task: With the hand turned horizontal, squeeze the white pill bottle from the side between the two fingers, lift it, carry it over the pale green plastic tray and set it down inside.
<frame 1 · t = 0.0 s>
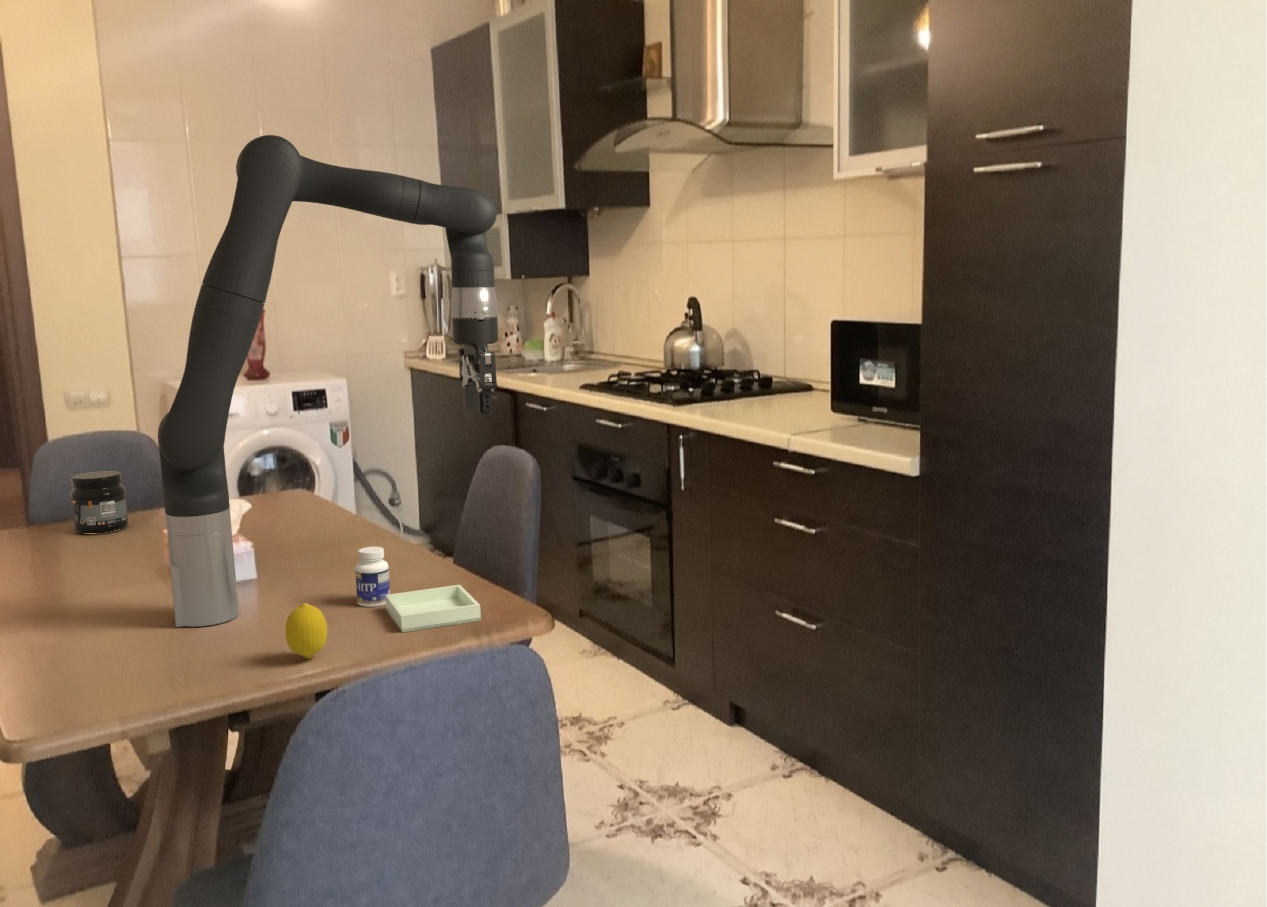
hand: (478, 411, 179), 29 cm above the table, tool pointing down, fingers open, 8 cm apart
pill bottle: (374, 603, 172), on the table
supplement container: (102, 530, 227), on the table
tray: (432, 615, 165), on the table
lemon: (308, 660, 147), on the table
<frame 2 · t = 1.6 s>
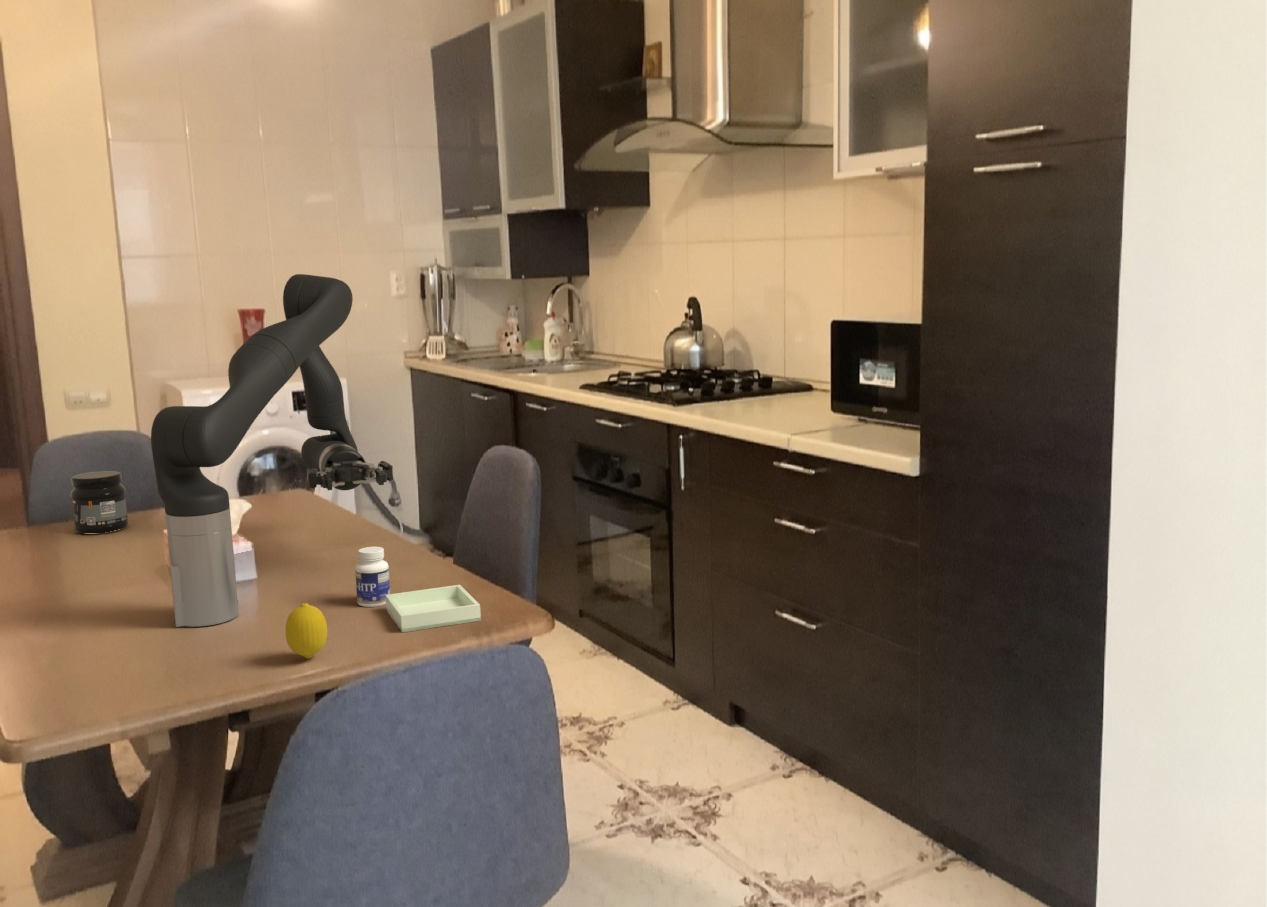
hand: (356, 481, 179), 18 cm above the table, tool horizontal, fingers open, 8 cm apart
nothing on the table moved.
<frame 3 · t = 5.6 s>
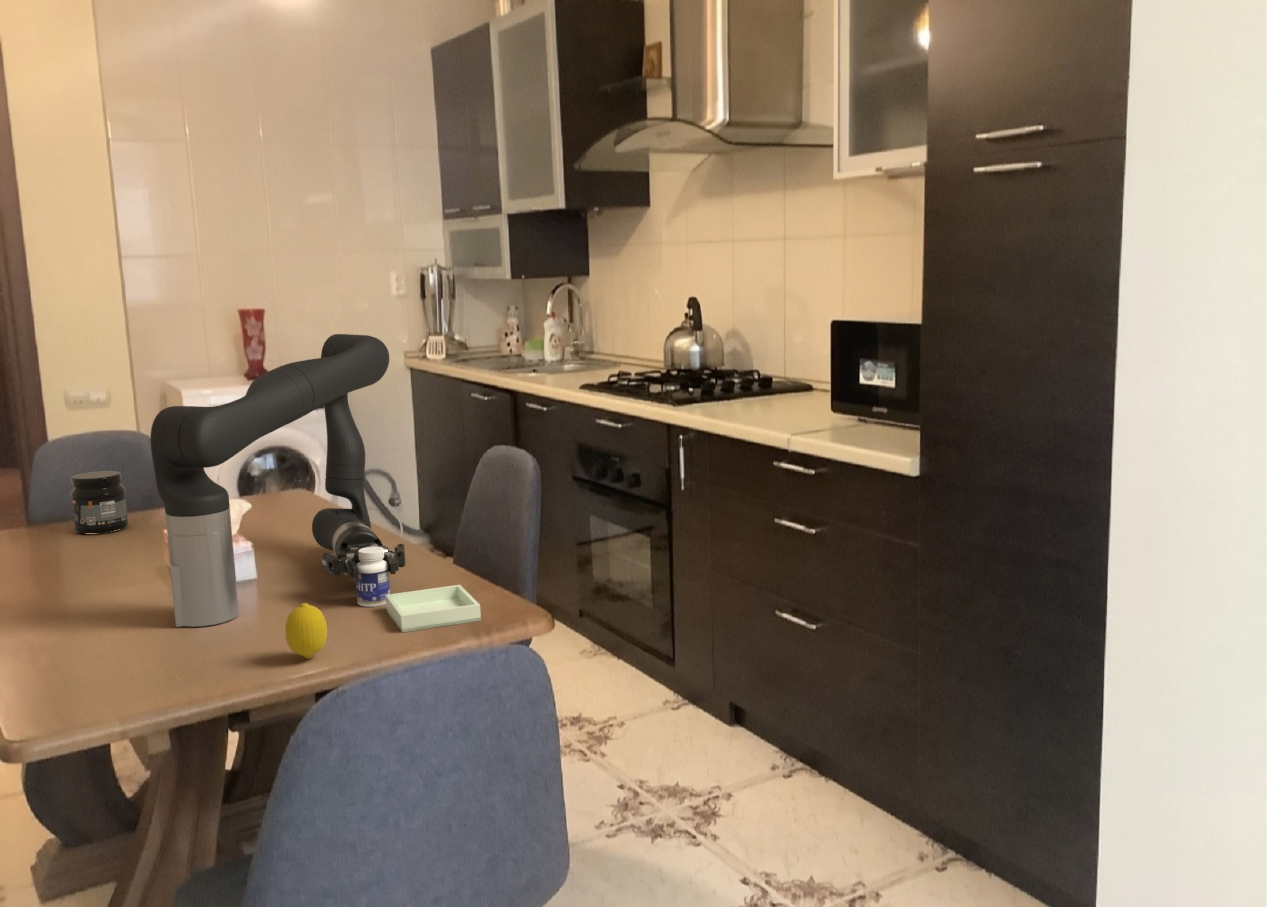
hand: (374, 570, 169), 6 cm above the table, tool horizontal, fingers closed on pill bottle, 5 cm apart
pill bottle: (374, 603, 172), on the table, touching gripper
everything else where it was.
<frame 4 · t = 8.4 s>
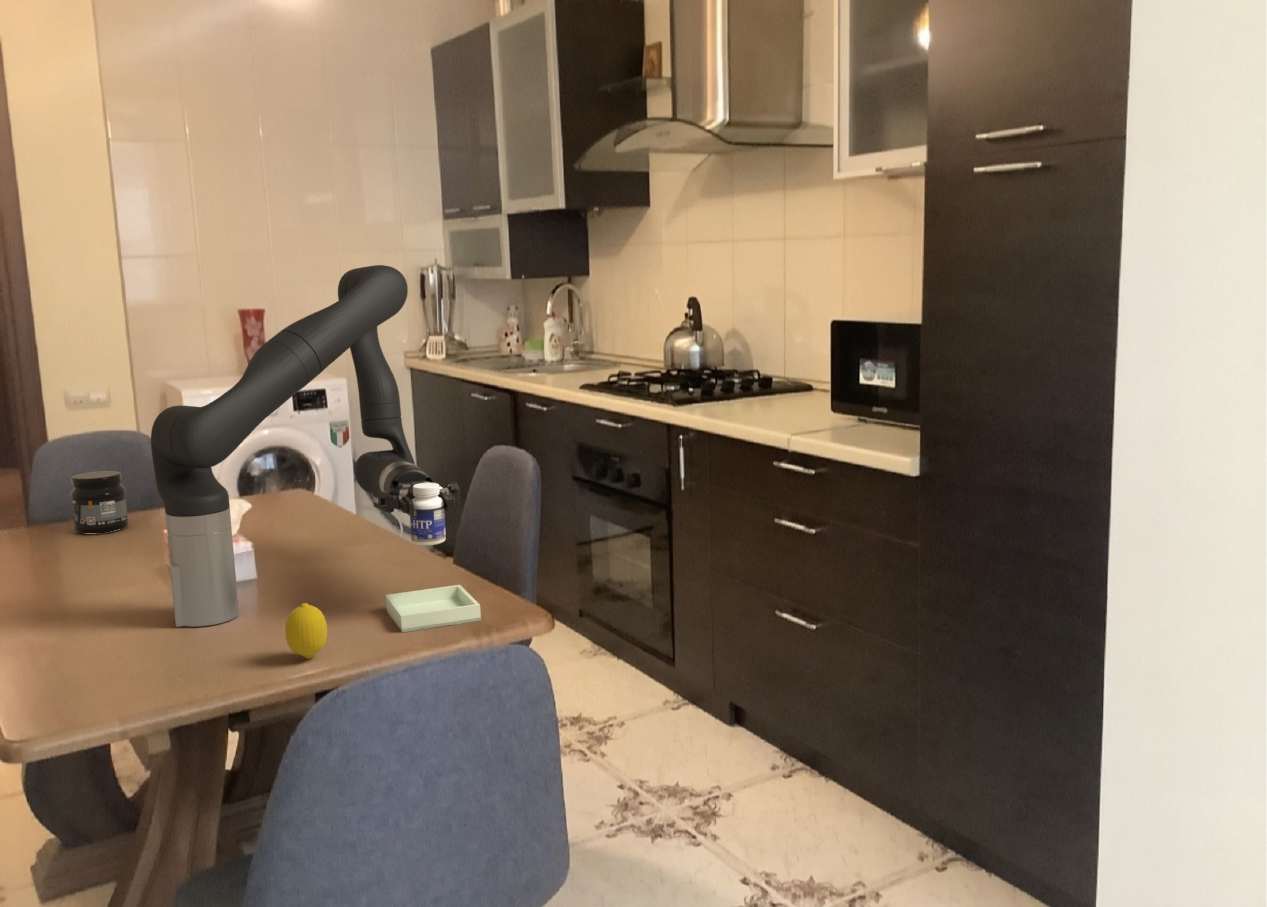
hand: (431, 506, 160), 18 cm above the table, tool horizontal, fingers closed on pill bottle, 5 cm apart
pill bottle: (428, 542, 164), point 11 cm above the table, touching gripper
everything else where it was.
when the fingers open (8 cm above the table, at t = 10.8 s): pill bottle drops 1 cm, resting on tray.
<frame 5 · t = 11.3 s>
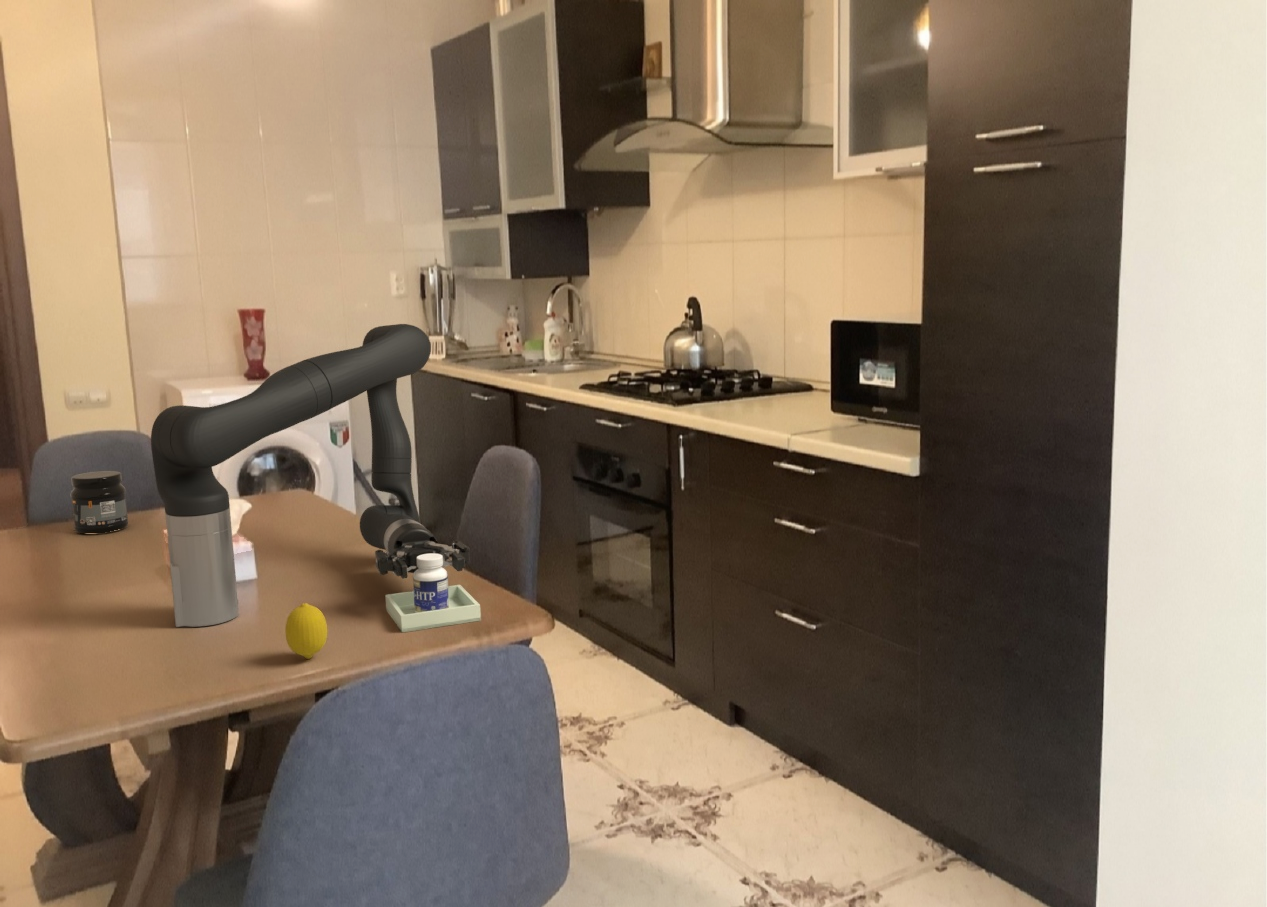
hand: (432, 568, 162), 8 cm above the table, tool horizontal, fingers open, 8 cm apart
pill bottle: (432, 613, 165), resting on tray
everything else where it was.
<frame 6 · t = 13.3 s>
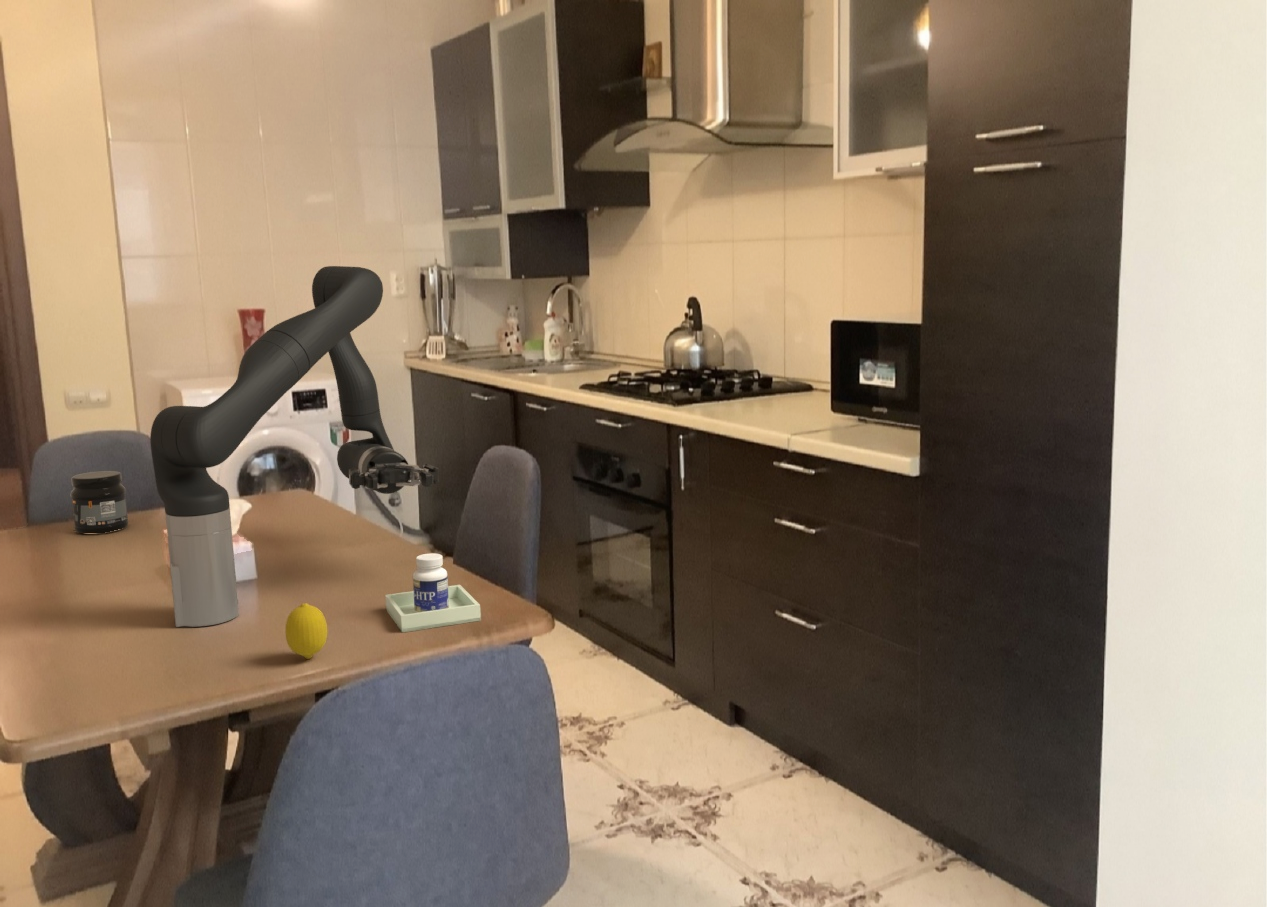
hand: (402, 482, 171), 19 cm above the table, tool horizontal, fingers open, 8 cm apart
nothing on the table moved.
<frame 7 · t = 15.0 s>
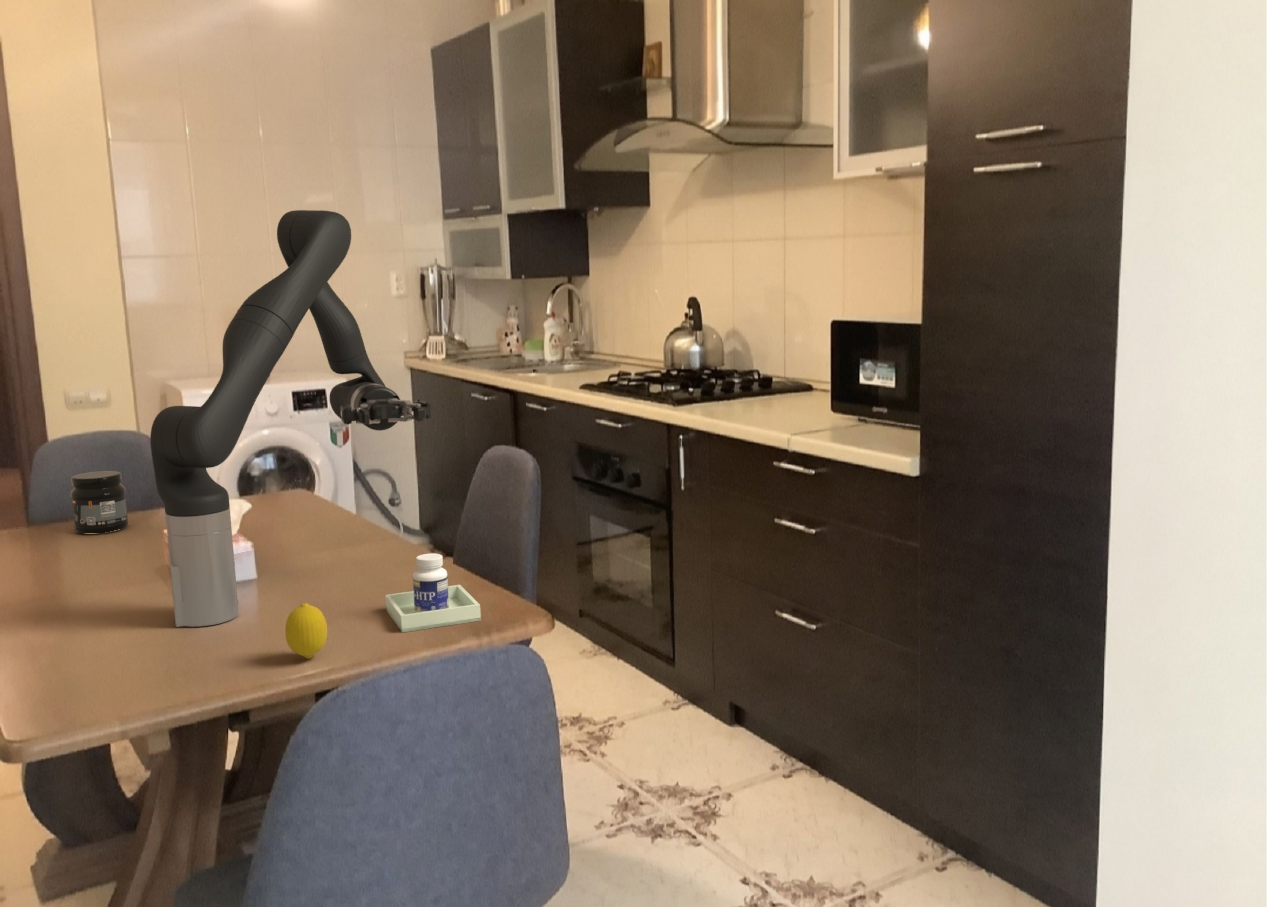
hand: (394, 416, 169), 30 cm above the table, tool horizontal, fingers open, 8 cm apart
nothing on the table moved.
at the end: pill bottle inside the target area on the tray (0.1 cm from its centre), point 0.3 cm above the tray's base; pill bottle tilted 0°; the gripper is holding nothing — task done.
